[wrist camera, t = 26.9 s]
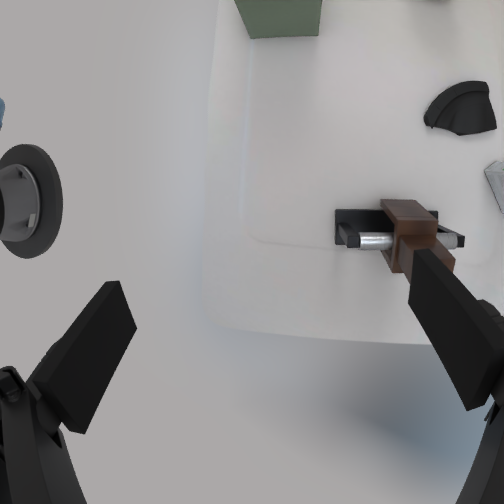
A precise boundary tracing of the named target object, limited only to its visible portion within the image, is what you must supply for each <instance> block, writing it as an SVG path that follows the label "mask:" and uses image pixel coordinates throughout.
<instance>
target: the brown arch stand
mask: <svg viewBox="0 0 504 504" xmlns="http://www.w3.org/2000/svg"><path fill="white" fill-rule="evenodd" d="M380 206H381V208H382V209H383V210H384V212H385V213H386V214H387V215H388V217H389V218H390V219H391V221H392V222H393V223H394V225H395V227H394V238H393V247H392V250H381V252H382V254H383V256H384V258H385V260H386V262H387V264H388V266H389V268H390V270H391V272H392V273H404V274H405V276H406V278H407V280H408V282H409V283H410V284H411V275H412V264H413V253H414V250H418V249H426V248H429V249H430V250H431V251H432V252H433V253H434V254H435V255H436V256H437V257H438V258H439V259H440V260H441V261H442V262H443V263H444V264H445V265H446V266H447V268H448V269H449V270H450V271H451V272H452V273H453V270H454V265H455V260H456V259H455V258H454V257H453V256H452V254H451V253H450V252H449V251H448V250H447V249H446V248H445V247H444V245H443V244H442V243H441V242H440V241H439V240H438V239H437V238H436V235H437V228H438V220H437V219H436V218H434V216H433V215H431V214H430V213H429V212H428V211H427V210H426V209H425V208H424V207H423V206H421V205H420V204H419V203H418V202H417V201H416V200H397V199H381V202H380Z"/></svg>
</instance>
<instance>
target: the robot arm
mask: <svg viewBox="0 0 504 504" xmlns="http://www.w3.org/2000/svg"><path fill="white" fill-rule="evenodd" d="M4 110H5V104H4V101H3V100H2V99H1V98H0V129H1V127H2V119H3V114H4ZM42 207H43V203H42V193H41V188H40V184H39V182H38V179H37V177H36V175H35V174H34V172H33V171H32V170H31V169H30V168H29V167H28V166H26V165H24V164H13V165H10V166H7V167H5V168H3V169H1V170H0V240H5V241H13V242H19V241H23V240H26V239H29V238H30V237H32V236H33V235H34V234H35V232H36V231H37V229H38V227H39V224H40V221H41V216H42ZM408 304H409V306H410V307H411V309H412V311H413V312H414V314H415V316H416V317H417V319H418V321H419V323H420V324H421V326H422V328H423V329H424V331H425V333H426V335H427V336H428V338H429V340H430V342H431V343H432V345H433V347H434V348H435V350H436V352H437V354H438V356H439V358H440V360H441V361H442V363H443V365H444V367H445V369H446V371H447V373H448V375H449V377H450V378H451V380H452V382H453V384H454V386H455V388H456V390H457V392H458V394H459V396H460V398H461V400H462V402H463V404H464V406H465V409H466V411H469V410H472V409H475V408H478V407H480V406H483V405H485V403H486V401H487V399H488V397H489V395H490V393H491V395H492V397H493V398H494V400H495V401H494V403H493V405H492V407H491V409H490V410H489V412H488V414H487V416H486V417H485V419H484V421H487V419H488V421H487V424H486V428H485V431H484V434H483V437H482V440H481V443H480V446H479V449H478V451H477V454H476V457H475V460H474V462H473V465H472V467H471V470H470V472H469V475H468V477H467V479H466V482H465V484H464V487H463V489H462V491H461V493H460V495H459V498H458V499H457V502H456V504H504V317H503V316H501V315H500V313H499V311H498V310H497V309H496V308H495V307H494V306H493V305H492V304H490V303H488V302H487V301H485V300H484V299H482V300H476V298H475V297H474V296H473V295H472V294H471V293H470V292H469V290H468V289H467V288H466V287H465V286H464V285H463V284H462V283H461V282H460V280H459V279H458V278H457V277H456V276H455V275H454V274H453V273H452V272H451V271H450V270H449V269H448V268H447V266H446V265H445V264H444V263H443V262H442V261H441V260H440V259H439V258H438V257H437V256H436V255H435V254H434V253H433V252H432V251H431V250H430V249H429V248H426V249H418V250H414V253H413V264H412V275H411V284H410V292H409V300H408ZM136 330H137V327H136V325H135V322H134V319H133V317H132V314H131V311H130V309H129V307H128V304H127V301H126V298H125V295H124V293H123V290H122V287H121V284H120V281H108V282H105V283H104V284H103V286H102V287H101V288H100V289H99V291H98V292H97V293H96V294H95V295H94V297H93V298H92V299H91V300H90V302H89V303H88V304H87V305H86V307H85V308H84V309H83V311H82V312H81V313H80V315H79V316H78V317H77V318H76V320H75V321H74V322H73V323H72V325H71V326H70V328H69V329H68V330H67V331H66V333H65V334H64V335H63V337H62V338H60V339H59V340H58V341H57V342H56V343H54V344H53V345H52V346H51V347H50V349H49V350H48V351H47V353H46V355H45V356H44V357H43V358H42V360H41V362H40V363H39V364H38V365H37V367H36V368H35V370H34V371H33V372H32V374H31V375H30V377H29V378H28V380H27V381H26V383H25V382H24V381H23V379H22V378H21V376H20V375H19V373H18V372H17V370H16V369H15V368H14V367H13V366H6V367H3V368H1V369H0V504H87V502H86V500H85V498H84V495H83V493H82V490H81V487H80V485H79V482H78V479H77V477H76V475H75V471H74V468H73V465H72V462H71V459H70V456H69V453H68V450H67V446H66V443H65V440H64V436H63V433H62V431H61V430H60V429H59V425H60V424H61V422H63V424H64V425H65V426H66V427H67V429H68V430H69V431H71V432H76V433H80V434H85V433H86V431H87V429H88V426H89V424H90V422H91V420H92V418H93V416H94V414H95V411H96V409H97V407H98V405H99V403H100V401H101V399H102V397H103V395H104V393H105V391H106V389H107V386H108V384H109V382H110V380H111V378H112V376H113V374H114V372H115V370H116V368H117V366H118V364H119V362H120V360H121V359H122V357H123V355H124V353H125V350H126V349H127V347H128V345H129V343H130V341H131V339H132V337H133V335H134V333H135V332H136Z"/></svg>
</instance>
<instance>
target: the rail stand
mask: <svg viewBox="0 0 504 504" xmlns="http://www.w3.org/2000/svg"><path fill="white" fill-rule="evenodd" d="M428 212H429V213H430V214H431V215H433V216H434V218H436V219H437V220H438V211H428ZM394 227H395V225H394V223H393V222H392V221H391V219H390V218H389V217H388V215H387V214H386V213H385V212H384V210H369V209H336V210H335V244H336V245H346V246H347V248H358V249H359V250H392V247H393V238H394ZM436 238H437V239H438V240H439V241H440V242H441V243H442V244H443V245H444V247H445V248H446V249H447V250H449V249H456V247H464V241H465V236H463V235H461V234H458V233H456V232H454V231H452V230H450V229H447V228H445V227H443V226H441V225H438V228H437V235H436Z"/></svg>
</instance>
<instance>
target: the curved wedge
mask: <svg viewBox="0 0 504 504" xmlns="http://www.w3.org/2000/svg"><path fill="white" fill-rule="evenodd" d="M424 121H425V124H426V126H430V127H431V128H432V129H433V127H434V126H435V127H440V128H444V129H447V130H449V131H452V132H454V133H456V134H457V135H459V136H461V135H469V134H476V133H481V132H485V131H489V130H494V129H496V128H497V125H496V119H495V115H494V112H493V109H492V106H491V103H490V100H489V87H488V85H487V83H486V82H482V81H466V82H462V83H459V84H456V85H454V86H452V87H450V88H448V89H446V90H445V91H444V92H442V93H441V94H440V95H439V96H438V97H437V98H436V99H435V100H434V101H433V102H432V104H431V105H430V107H429V108H428V110H427V112H426V114H425V116H424Z"/></svg>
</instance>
